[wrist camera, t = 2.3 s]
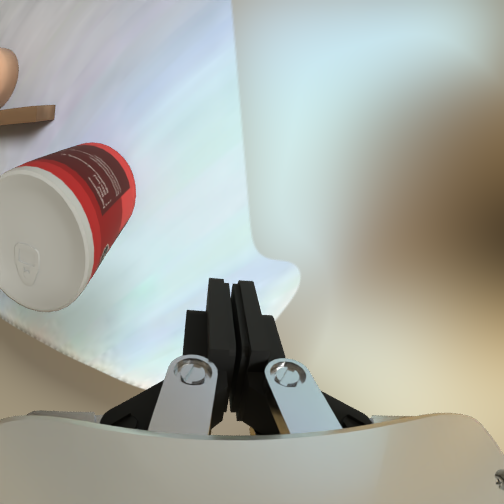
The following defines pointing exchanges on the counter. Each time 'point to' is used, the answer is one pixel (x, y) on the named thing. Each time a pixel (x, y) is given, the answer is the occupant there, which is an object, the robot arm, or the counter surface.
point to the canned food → (61, 222)
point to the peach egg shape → (7, 74)
